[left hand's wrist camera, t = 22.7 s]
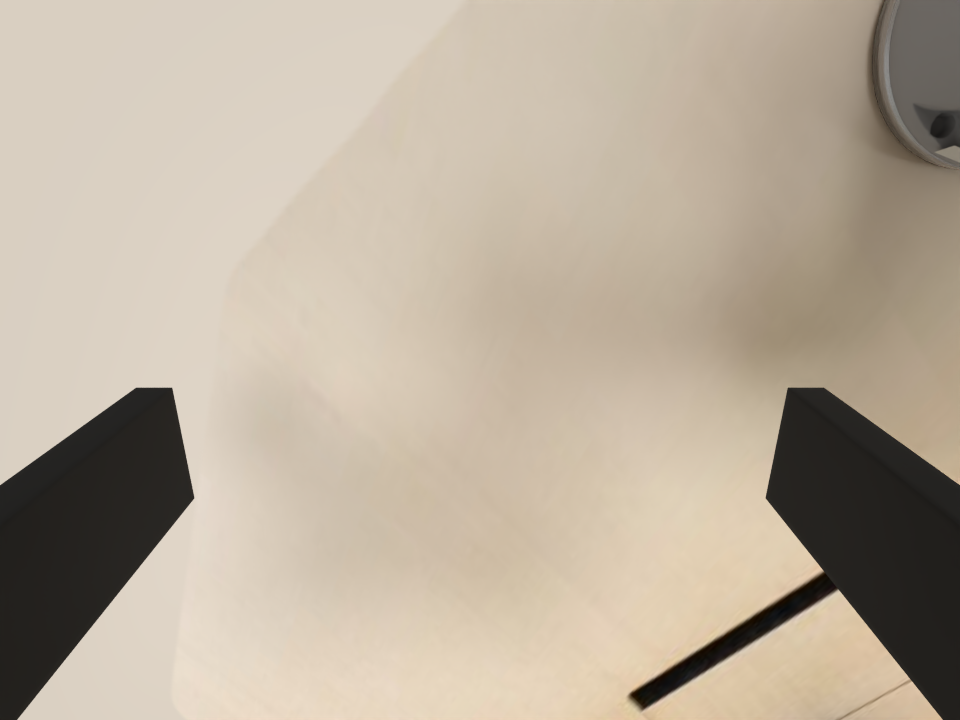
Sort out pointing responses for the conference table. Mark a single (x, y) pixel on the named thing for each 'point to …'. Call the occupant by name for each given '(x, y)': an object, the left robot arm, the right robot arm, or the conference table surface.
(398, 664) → the conference table surface
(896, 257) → the conference table surface
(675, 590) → the conference table surface
